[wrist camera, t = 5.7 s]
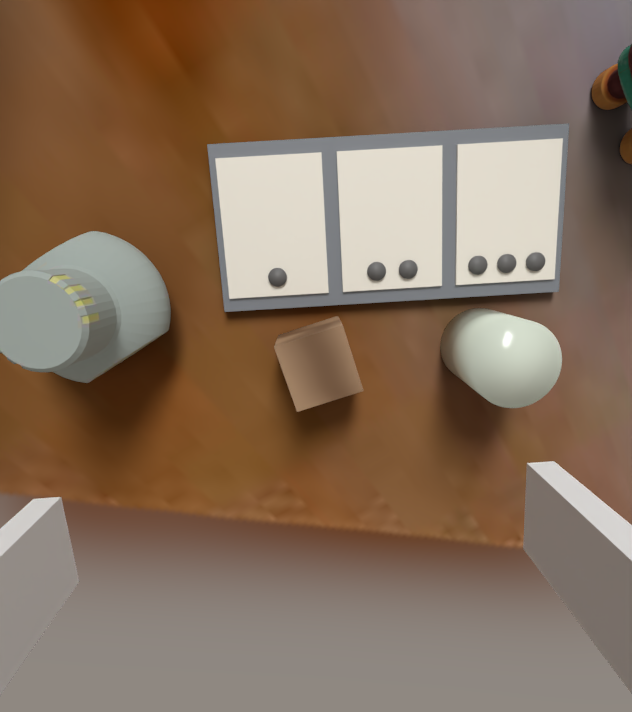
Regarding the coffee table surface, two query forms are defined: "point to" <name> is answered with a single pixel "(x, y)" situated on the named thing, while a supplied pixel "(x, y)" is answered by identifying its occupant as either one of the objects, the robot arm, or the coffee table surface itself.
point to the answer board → (389, 216)
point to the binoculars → (617, 93)
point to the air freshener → (82, 308)
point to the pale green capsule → (502, 356)
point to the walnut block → (317, 363)
